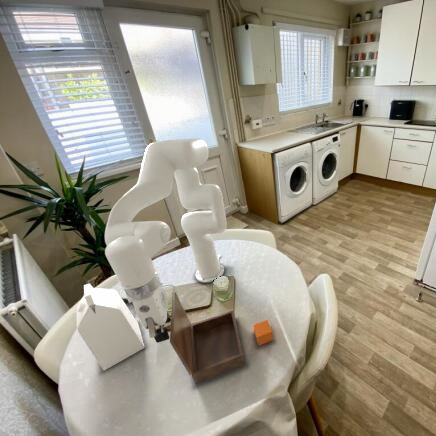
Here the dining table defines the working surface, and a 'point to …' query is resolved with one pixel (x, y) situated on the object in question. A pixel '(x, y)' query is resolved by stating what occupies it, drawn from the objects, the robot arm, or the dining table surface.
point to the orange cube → (263, 332)
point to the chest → (215, 347)
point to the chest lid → (180, 333)
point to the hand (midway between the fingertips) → (164, 330)
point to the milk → (107, 326)
